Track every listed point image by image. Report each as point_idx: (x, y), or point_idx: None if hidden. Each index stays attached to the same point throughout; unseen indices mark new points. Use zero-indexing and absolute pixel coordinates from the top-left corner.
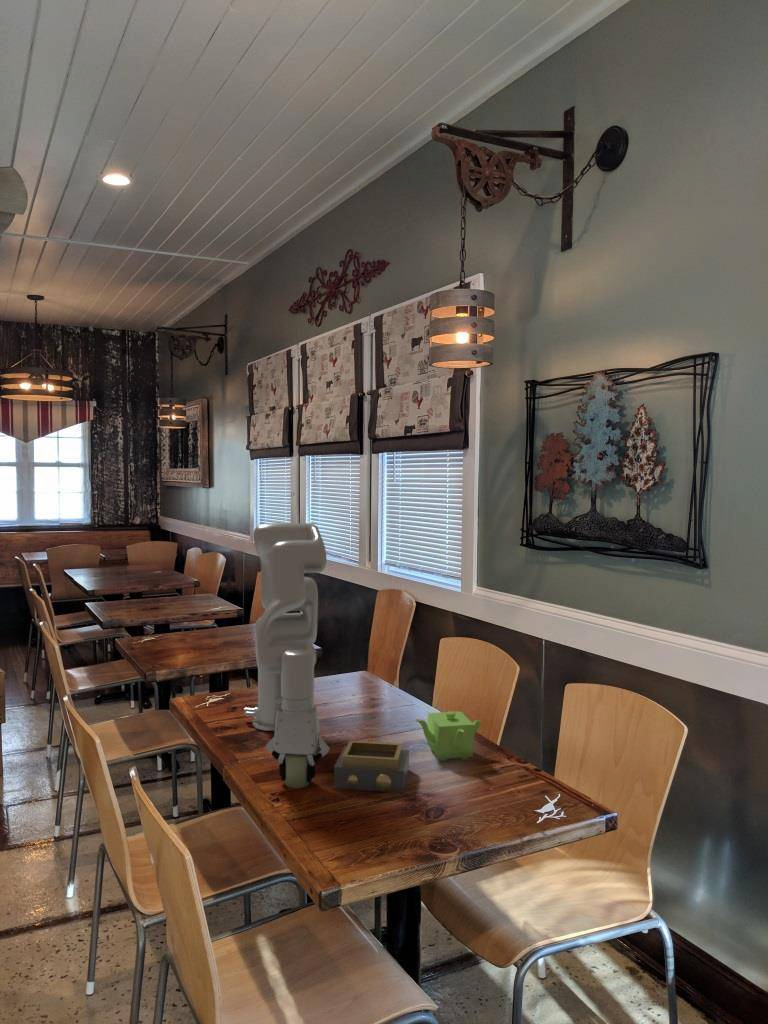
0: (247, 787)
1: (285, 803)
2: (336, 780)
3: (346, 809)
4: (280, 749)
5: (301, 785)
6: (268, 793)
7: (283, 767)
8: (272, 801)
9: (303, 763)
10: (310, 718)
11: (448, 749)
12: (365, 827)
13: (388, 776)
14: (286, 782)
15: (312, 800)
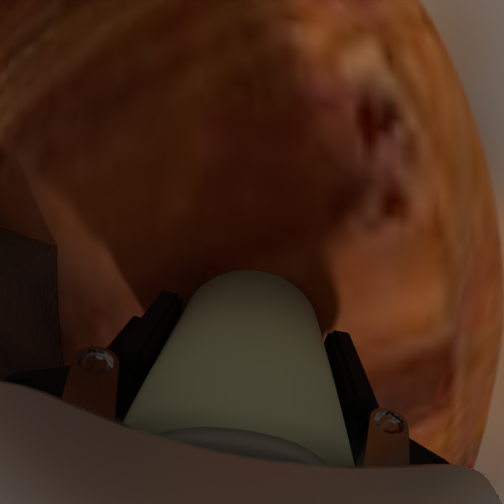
0: (490, 296)
1: (318, 62)
2: (22, 255)
3: (29, 32)
4: (452, 494)
5: (220, 279)
6: (418, 214)
7: (354, 383)
8: (395, 102)
9: (167, 369)
10: None
11: None
12: None
13: None
14: (316, 318)
15: (154, 93)
